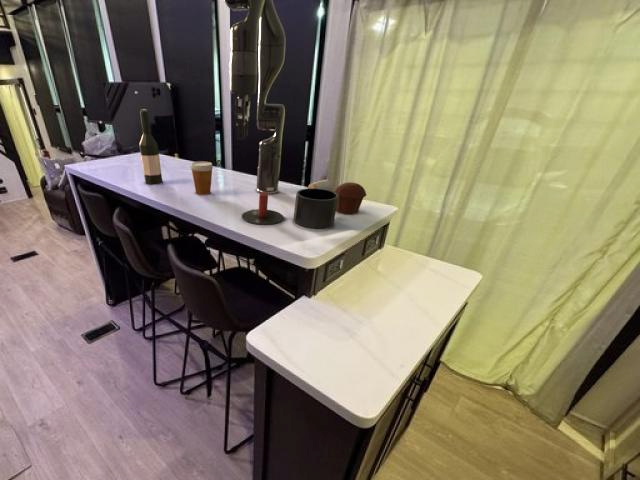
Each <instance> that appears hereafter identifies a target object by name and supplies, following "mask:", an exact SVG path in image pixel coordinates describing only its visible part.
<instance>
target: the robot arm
mask: <svg viewBox="0 0 640 480" xmlns="http://www.w3.org/2000/svg"><path fill="white" fill-rule="evenodd" d="M224 3H225V5H226V7H227V8H228V9H229V10H231V11H233V12H243V11H248V12H247V13H246V16H245V18H244V19H243V20H241V21H238V22H236V23H234V24H232V26H231V28H230V59H229V92H230V93H231V94H237V98H235V100H234V102H235V104H234V106H235V111H234V112H235V114H234V115H235V119H234V123H235V125H236V140H238V141H244V140H245V137H248V134H249V121H250V118H251V117H250V114H251V98H250V97H249V95H251V94H253V95H254V94H256V93H257V105H256V126H257V129H258V130H259V131H265V132H266V131H267V132H274V134H273V135H272V136H269V138H266V139H262V140H261V141H259V143H258V165H257V166H258V167H257V171H256V173H257V174H256V192H258V193H259V194H261V193H265V194H268V195H274V194H277V193H279V181H280V171H281V158H282V145H283V144H282V142H283V132H284V125H285V117H286V109H285V105H284V104H282V103H267V97H268V94H269V91H270V89H271V88H272V85H273V83H274V82H275V80H276V79H277V77H278V75H279V73H280V71H281V70H282V68H283V65H284V62H285V58H286V57H285V55H286V43H287V42H286V40H287V39H286V34H285V30H284V27H283V24H282V23H281V20H280V17H279V15H278V13H277V10H276V7H275V4H274V1H273V0H224ZM257 51H258V53H257ZM257 80H258V90H257ZM257 91H258V92H257Z"/></svg>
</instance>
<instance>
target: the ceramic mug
mask: <svg viewBox="0 0 640 480" xmlns="http://www.w3.org/2000/svg"><path fill="white" fill-rule="evenodd" d="M308 188H317V189H326V190H330V191H333V192H334V187H333V184H332V182H331V181H330V180H329V179H322V180H318V181H314V182H311V183H310V184H309V185H308V186H307V189H308Z"/></svg>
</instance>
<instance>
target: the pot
mask: <svg viewBox="0 0 640 480" xmlns="http://www.w3.org/2000/svg"><path fill="white" fill-rule="evenodd" d="M295 195H296V196H295V203H294V212H293V219H292V222H293V223H294V224H295V225H297V226H298V227H300V228H303V229H309V230H325V229H330V228H331V227H333V226H334V223H335V219H336V213H337V211H336V208H337V203H338V198H339V195H338V194H337V193H336V192H334V190H333V191H330V190H326V189H317V188H308V187H307V188H302V189H299V190H296V193H295Z"/></svg>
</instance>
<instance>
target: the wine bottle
mask: <svg viewBox="0 0 640 480" xmlns="http://www.w3.org/2000/svg"><path fill="white" fill-rule="evenodd" d="M139 113H140V114H139V115H140V121H141V122H140V123H141V128H142V136H141V138H140V141H139V152H140V158H141V164H142V171H143V177H144V183H145V185H151V186H154V185H161V184H163V182H164V181H163V175H162V167H161V159H160V158H161V157H160V153H159V152H160V150H159V145H158V141H156V140H155V138H154V136H153V135H152V131H151V125H150V124H151V123H150V116H149V112H148V110H147V109H145V108H144V109H142V108H141V109H140V111H139Z"/></svg>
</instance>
